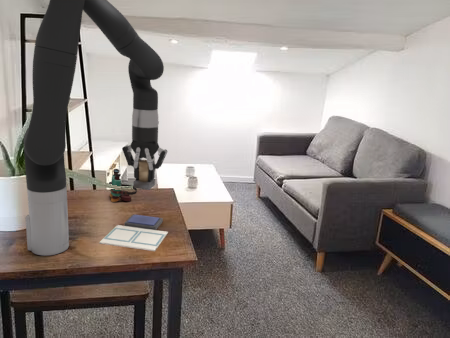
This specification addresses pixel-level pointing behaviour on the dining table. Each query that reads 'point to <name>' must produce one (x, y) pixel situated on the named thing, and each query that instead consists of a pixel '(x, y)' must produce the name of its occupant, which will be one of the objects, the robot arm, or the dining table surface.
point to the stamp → (143, 177)
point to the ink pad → (144, 222)
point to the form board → (134, 238)
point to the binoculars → (116, 193)
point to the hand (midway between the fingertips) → (144, 179)
